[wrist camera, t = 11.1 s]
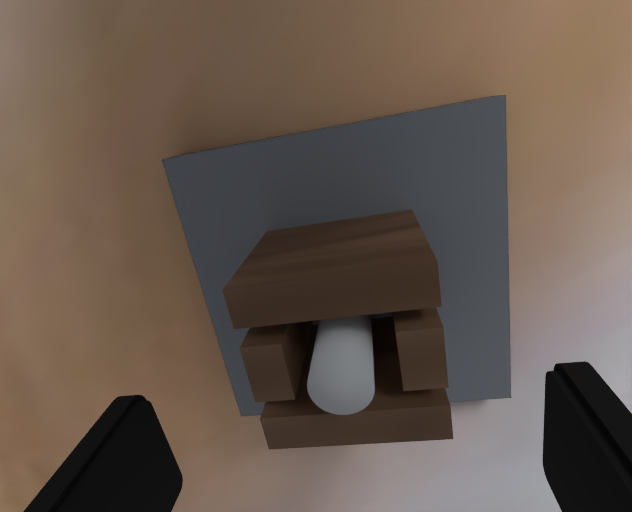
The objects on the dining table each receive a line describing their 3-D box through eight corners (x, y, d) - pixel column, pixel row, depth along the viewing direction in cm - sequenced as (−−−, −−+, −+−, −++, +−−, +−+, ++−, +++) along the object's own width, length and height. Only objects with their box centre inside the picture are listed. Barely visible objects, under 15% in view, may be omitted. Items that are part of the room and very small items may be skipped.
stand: (177, 155, 18) (37, 193, 10) (493, 96, 16) (621, 86, 8) (248, 397, 23) (189, 550, 15) (500, 378, 21) (586, 546, 13)
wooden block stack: (266, 231, 18) (222, 290, 12) (412, 209, 17) (438, 262, 11) (295, 352, 20) (269, 449, 14) (425, 339, 19) (453, 439, 13)
